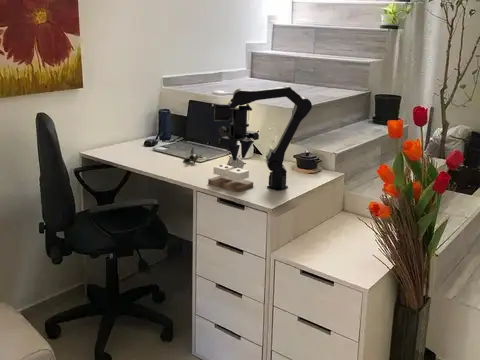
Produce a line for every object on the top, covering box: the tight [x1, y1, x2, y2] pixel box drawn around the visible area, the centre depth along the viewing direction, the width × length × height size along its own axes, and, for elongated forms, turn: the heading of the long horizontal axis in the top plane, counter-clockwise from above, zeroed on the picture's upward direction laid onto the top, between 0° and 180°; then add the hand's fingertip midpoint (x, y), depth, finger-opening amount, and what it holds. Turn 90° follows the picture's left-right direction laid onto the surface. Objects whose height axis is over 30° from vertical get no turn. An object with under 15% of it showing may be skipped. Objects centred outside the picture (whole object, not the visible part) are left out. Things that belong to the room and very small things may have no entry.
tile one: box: [228, 168, 250, 181], centre depth 235 cm, size 6×6×3 cm
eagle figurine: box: [183, 147, 203, 165], centre depth 272 cm, size 8×7×9 cm
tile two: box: [213, 163, 234, 177], centre depth 240 cm, size 6×6×3 cm
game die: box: [226, 154, 247, 169], centre depth 256 cm, size 9×8×10 cm
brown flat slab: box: [207, 175, 254, 193], centre depth 239 cm, size 16×10×2 cm, turn 51°
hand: (238, 159), depth 234 cm, fingers open, 5 cm apart
